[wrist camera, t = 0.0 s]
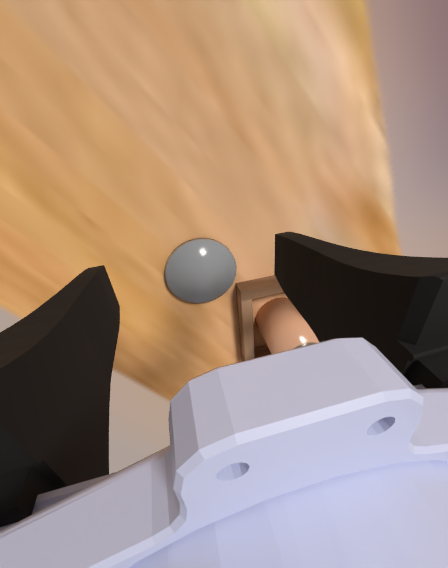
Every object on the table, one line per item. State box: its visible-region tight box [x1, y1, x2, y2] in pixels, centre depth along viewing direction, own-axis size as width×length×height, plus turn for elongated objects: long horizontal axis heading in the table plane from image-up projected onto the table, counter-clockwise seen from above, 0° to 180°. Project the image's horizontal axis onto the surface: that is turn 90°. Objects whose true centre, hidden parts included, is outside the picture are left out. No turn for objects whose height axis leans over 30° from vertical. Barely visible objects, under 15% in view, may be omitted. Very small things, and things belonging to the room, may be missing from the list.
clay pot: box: [256, 298, 319, 354], centre depth 26 cm, size 4×4×6 cm
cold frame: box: [236, 275, 284, 361], centre depth 28 cm, size 10×8×2 cm
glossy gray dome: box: [165, 238, 236, 303], centre depth 23 cm, size 6×6×1 cm
